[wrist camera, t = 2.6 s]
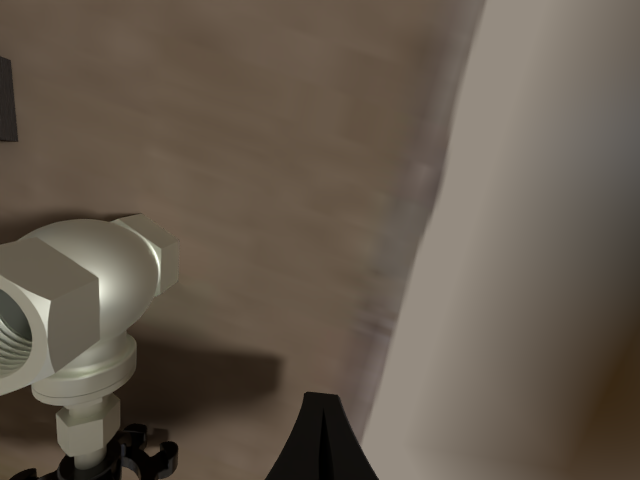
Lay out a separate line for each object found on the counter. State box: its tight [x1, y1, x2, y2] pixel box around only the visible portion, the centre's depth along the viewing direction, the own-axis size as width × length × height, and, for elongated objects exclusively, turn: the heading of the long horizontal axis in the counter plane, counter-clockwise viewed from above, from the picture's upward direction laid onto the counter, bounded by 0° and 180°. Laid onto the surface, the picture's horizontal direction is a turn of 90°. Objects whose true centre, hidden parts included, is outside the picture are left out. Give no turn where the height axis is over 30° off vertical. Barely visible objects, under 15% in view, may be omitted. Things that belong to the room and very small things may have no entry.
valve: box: [0, 213, 180, 480], centre depth 11 cm, size 7×7×12 cm
